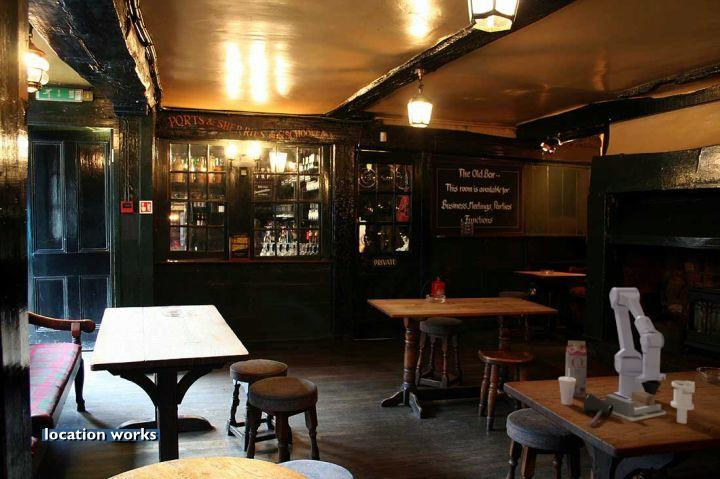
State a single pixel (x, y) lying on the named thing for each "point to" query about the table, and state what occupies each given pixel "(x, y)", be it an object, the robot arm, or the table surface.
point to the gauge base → (632, 408)
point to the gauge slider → (643, 399)
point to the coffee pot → (596, 408)
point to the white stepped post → (683, 399)
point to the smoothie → (567, 388)
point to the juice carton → (577, 366)
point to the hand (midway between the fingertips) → (650, 399)
